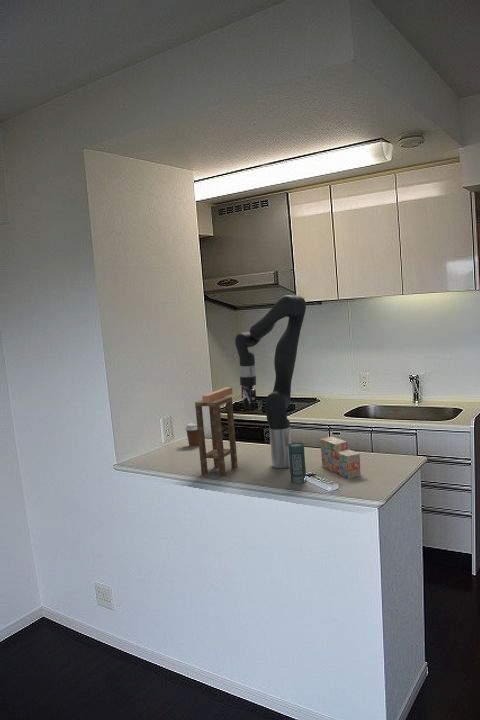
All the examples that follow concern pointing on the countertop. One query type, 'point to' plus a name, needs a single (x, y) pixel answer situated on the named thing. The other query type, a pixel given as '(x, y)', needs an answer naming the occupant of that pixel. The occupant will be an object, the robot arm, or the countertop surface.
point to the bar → (217, 395)
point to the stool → (216, 435)
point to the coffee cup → (192, 435)
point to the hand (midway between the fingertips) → (249, 409)
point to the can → (297, 462)
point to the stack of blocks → (339, 457)
